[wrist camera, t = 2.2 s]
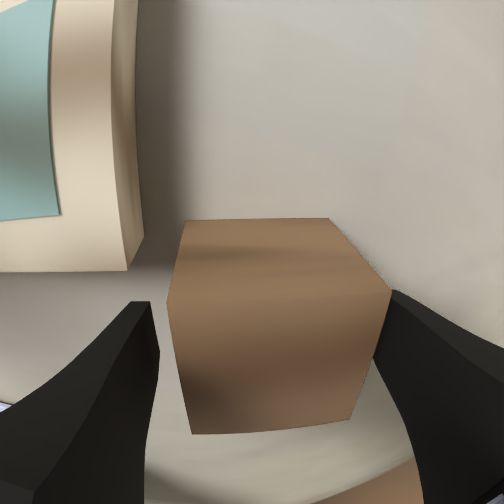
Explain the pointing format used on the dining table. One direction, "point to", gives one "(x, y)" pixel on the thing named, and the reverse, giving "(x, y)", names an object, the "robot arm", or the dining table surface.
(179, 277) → the walnut cube
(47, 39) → the base
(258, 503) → the dining table surface
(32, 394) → the robot arm
